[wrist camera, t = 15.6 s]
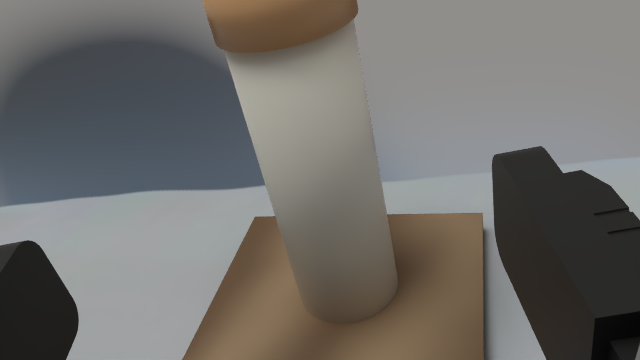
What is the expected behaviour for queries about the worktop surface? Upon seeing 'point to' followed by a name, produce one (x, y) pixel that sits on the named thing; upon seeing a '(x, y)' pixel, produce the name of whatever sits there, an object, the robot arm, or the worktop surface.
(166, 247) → the worktop surface
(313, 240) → the plug
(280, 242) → the pad
